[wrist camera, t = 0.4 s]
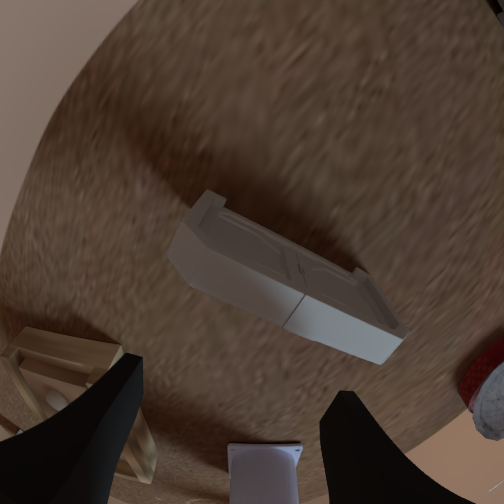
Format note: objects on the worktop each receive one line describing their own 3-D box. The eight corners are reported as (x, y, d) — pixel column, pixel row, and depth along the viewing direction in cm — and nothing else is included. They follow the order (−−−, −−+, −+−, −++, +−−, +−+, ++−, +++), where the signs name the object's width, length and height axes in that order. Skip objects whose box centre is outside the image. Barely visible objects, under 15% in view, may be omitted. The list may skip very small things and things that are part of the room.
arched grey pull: (356, 294, 20) (397, 372, 13) (194, 213, 18) (155, 271, 10) (370, 274, 19) (420, 347, 12) (206, 188, 17) (172, 230, 10)
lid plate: (122, 440, 23) (117, 458, 21) (63, 423, 23) (56, 438, 21) (91, 374, 19) (80, 394, 17) (26, 356, 19) (14, 372, 17)
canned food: (443, 372, 30) (440, 432, 22) (486, 311, 25) (500, 369, 17) (500, 394, 26) (505, 451, 18) (544, 340, 21) (563, 395, 13)
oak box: (158, 452, 29) (151, 484, 24) (81, 433, 28) (69, 460, 24) (121, 344, 22) (99, 385, 17) (25, 326, 22) (-1, 355, 17)
